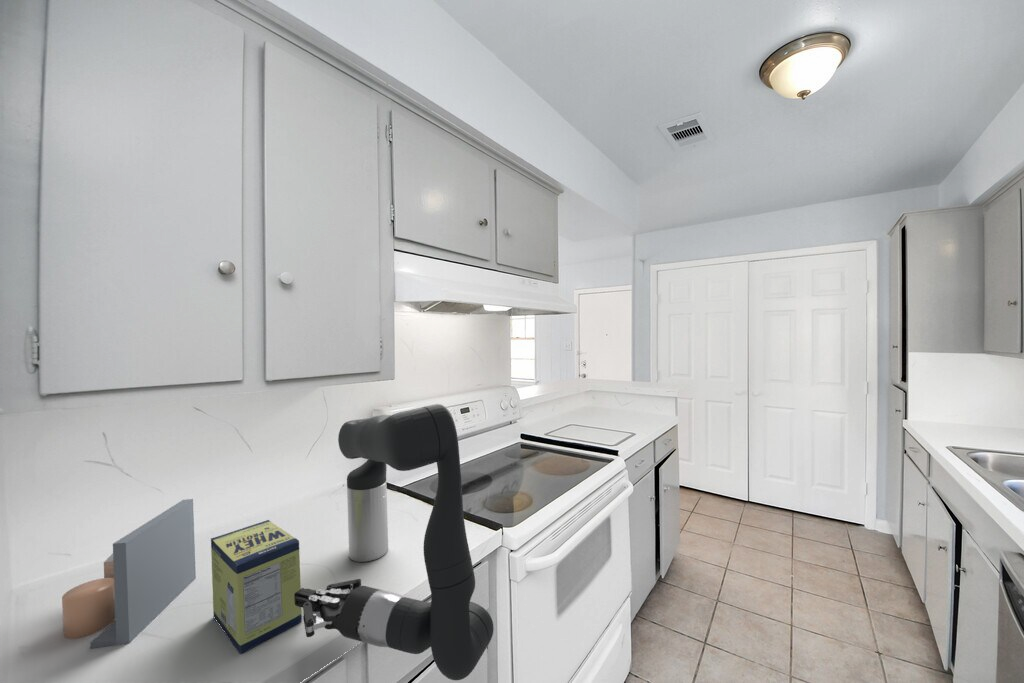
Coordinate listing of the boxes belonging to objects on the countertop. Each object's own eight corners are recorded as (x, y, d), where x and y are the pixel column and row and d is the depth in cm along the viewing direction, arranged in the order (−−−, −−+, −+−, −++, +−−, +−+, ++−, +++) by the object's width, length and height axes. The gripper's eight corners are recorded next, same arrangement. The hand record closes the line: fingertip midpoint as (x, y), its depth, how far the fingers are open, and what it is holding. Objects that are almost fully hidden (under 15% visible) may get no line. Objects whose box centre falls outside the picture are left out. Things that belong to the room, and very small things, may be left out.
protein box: (270, 591, 87) (268, 518, 87) (303, 621, 77) (300, 540, 77) (211, 617, 79) (209, 537, 79) (240, 656, 69) (236, 564, 69)
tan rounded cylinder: (85, 615, 81) (83, 580, 81) (125, 610, 82) (124, 575, 82) (51, 641, 74) (50, 603, 74) (96, 635, 75) (95, 597, 75)
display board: (165, 581, 91) (162, 501, 91) (195, 578, 92) (192, 498, 92) (90, 648, 72) (86, 546, 72) (129, 643, 73) (125, 542, 73)
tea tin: (116, 592, 88) (114, 551, 88) (146, 586, 90) (144, 545, 90) (105, 606, 83) (103, 562, 83) (137, 599, 85) (135, 556, 85)
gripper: (399, 572, 75) (324, 556, 81) (347, 619, 62) (263, 597, 68) (400, 612, 75) (326, 594, 81) (348, 668, 63) (265, 642, 68)
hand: (297, 595), depth 75 cm, fingers closed
